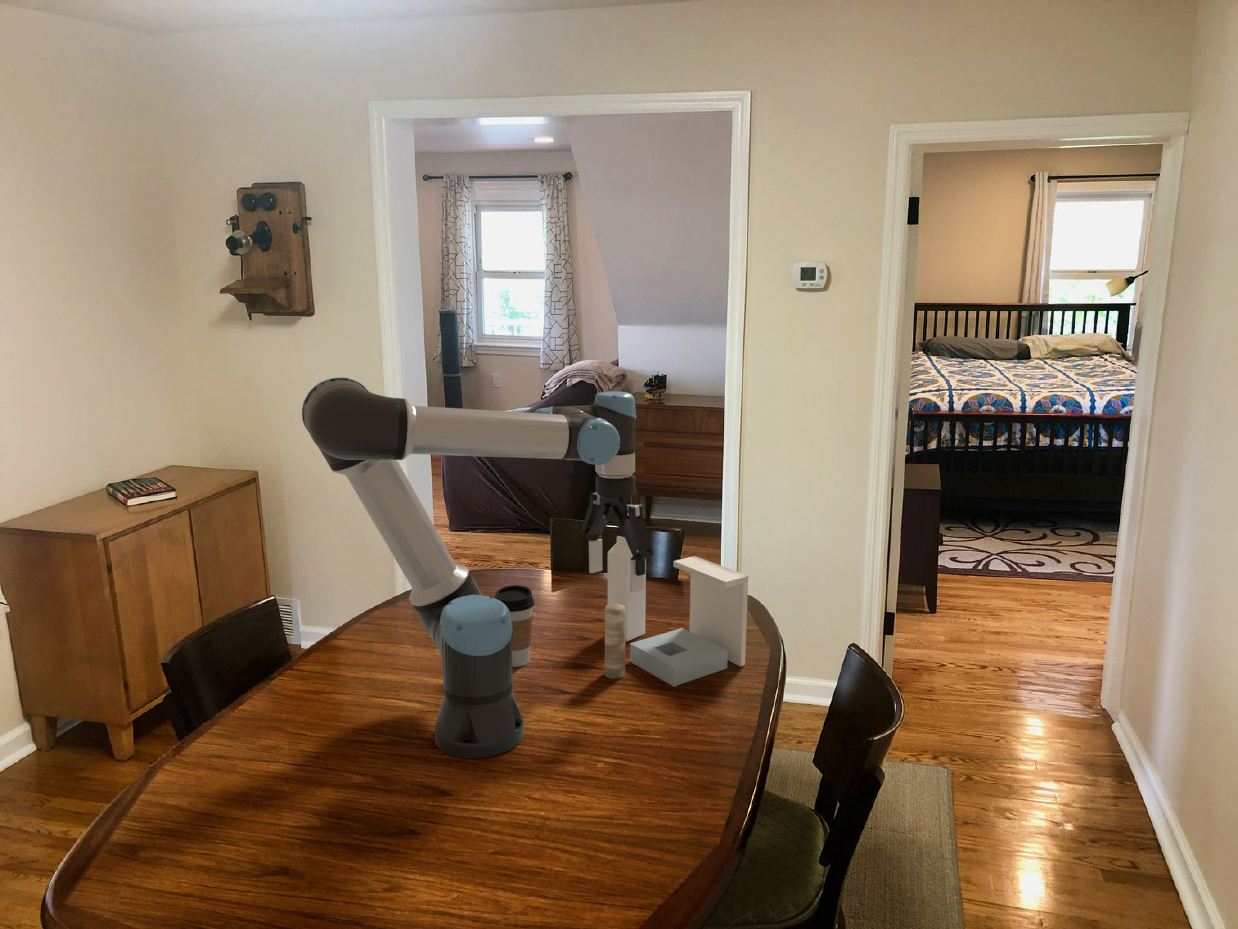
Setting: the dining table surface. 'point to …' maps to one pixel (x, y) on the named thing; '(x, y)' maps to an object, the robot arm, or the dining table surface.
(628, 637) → the milk
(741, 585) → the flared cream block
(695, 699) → the dining table surface
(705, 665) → the socket block
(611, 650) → the birch peg
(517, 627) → the coffee cup
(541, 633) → the dining table surface
